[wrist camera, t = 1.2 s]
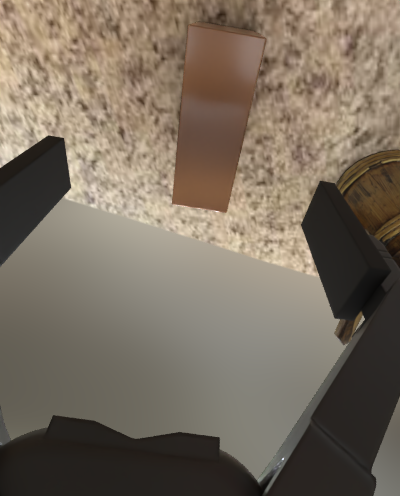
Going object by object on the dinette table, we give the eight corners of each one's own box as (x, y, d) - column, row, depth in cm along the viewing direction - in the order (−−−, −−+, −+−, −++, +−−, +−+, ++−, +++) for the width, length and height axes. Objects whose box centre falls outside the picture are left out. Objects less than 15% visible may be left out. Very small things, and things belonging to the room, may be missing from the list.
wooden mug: (292, 156, 29) (353, 289, 15) (440, 146, 28) (661, 285, 14) (284, 229, 35) (324, 377, 21) (407, 225, 33) (540, 381, 19)
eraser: (198, 20, 23) (187, 24, 17) (255, 31, 23) (267, 38, 17) (182, 165, 30) (171, 204, 24) (226, 172, 31) (226, 213, 24)
